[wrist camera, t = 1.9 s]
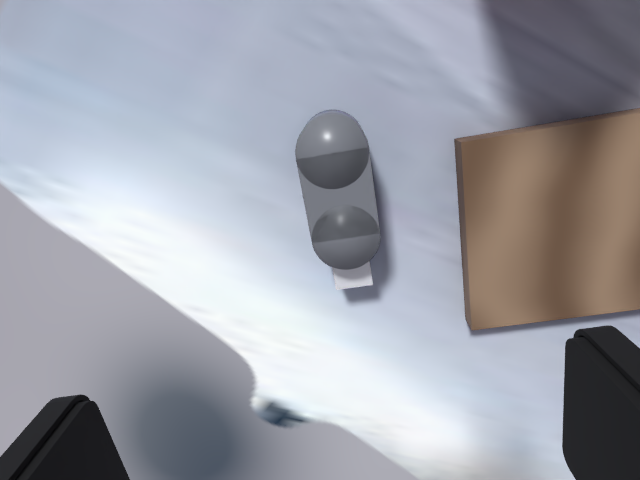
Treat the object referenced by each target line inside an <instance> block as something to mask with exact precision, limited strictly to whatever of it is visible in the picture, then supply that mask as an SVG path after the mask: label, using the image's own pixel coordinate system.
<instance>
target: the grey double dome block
mask: <svg viewBox="0 0 640 480" xmlns="http://www.w3.org/2000/svg"><path fill="white" fill-rule="evenodd" d="M295 155H296V162H297V167H298V172H299V177H300V183H301V188H302V193H303V198H304V204H305V209H306V214H307V219H308V225H309V230H310V235H311V240H312V245H313V248H314V251H315V253H316V254H317V256H318V257H319V258H320V259H321V260H322V261H323V262H324V263H325V264H327V265H329V266H331V267H332V269H333V275H334V280H335V286H336V290H340V289H347V288H354V287H362V286H369V285H373V282H372V275H371V268H370V260H371V259H372V258H373V257H374V255H375V254H376V252H377V250H378V247H379V244H380V229H379V221H378V214H377V206H376V199H375V191H374V183H373V176H372V168H371V160H370V153H369V146H368V141H367V138H366V136H365V134H364V132H363V130H362V128H361V126H360V125H359V123H358V122H357V121H356V120H355V119H354V118H353V117H352V116H351V115H349V114H348V113H345V112H343V111H339V110H327V111H323V112H320V113H318V114H316V115H315V116H314V117H312V118H311V119H310V120H309V121H308V123H307V124H306V126H305V127H304V129H303V130H302V132H301V134H300V135H299V138H298V140H297V144H296V150H295Z"/></svg>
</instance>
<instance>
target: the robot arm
mask: <svg viewBox="0 0 640 480" xmlns="http://www.w3.org/2000/svg"><path fill="white" fill-rule="evenodd" d="M562 447H563V454H564V457H565V461H566V463H567V465H568V467H569V469H570V471H571V472H572V474H573V476H574V477H575V479H576V480H640V348H638V347H637V346H636V345H635V344H634V343H633V342H632V341H630V340H629V339H628V338H627V337H626V336H625V335H623V334H622V333H621V332H620V331H619V330H618V329H616V328H615V327H613V326H601V327H593V328H586V329H579V330H577V331H576V332H575V334H574V338H571V339H568V340H567V341H566V346H565V378H564V411H563V444H562ZM0 480H130V479H129V477H128V474H127V472H126V470H125V467H124V466H123V463H122V461H121V458H120V456H119V454H118V451H117V449H116V447H115V445H114V443H113V440H112V438H111V435H110V433H109V431H108V429H107V426H106V424H105V422H104V419H103V417H102V415H101V413H100V410H99V408H98V406H97V404H96V403H95V402H94V401H90V400H89V398H88V397H87V396H85V395H75V396H67V397H59V398H55V399H52V400H51V401H50V402H48V403H47V404H46V405H45V407H44V408H43V409H42V410H41V411H40V412H39V413H38V415H37V416H36V417H35V418H34V419H33V420H32V422H31V423H30V424H29V425H28V426H27V427H26V428H25V429H24V431H23V432H22V433H21V434H20V435H19V436H18V437H17V439H16V440H15V441H14V442H13V443H12V444H11V445H10V447H9V448H8V449H7V450H6V451H5V452H4V453H3V455H2V456H1V457H0Z"/></svg>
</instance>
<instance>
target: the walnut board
mask: <svg viewBox="0 0 640 480" xmlns="http://www.w3.org/2000/svg"><path fill="white" fill-rule="evenodd" d="M455 156H456V172H457V188H458V204H459V220H460V237H461V253H462V269H463V285H464V301H465V317H466V321H467V323H468V324H469V326H470V328H471V330H479V329H487V328H495V327H503V326H511V325H519V324H527V323H535V322H543V321H551V320H559V319H567V318H574V317H582V316H590V315H598V314H606V313H614V312H622V311H630V310H638V309H640V108H637V109H631V110H625V111H619V112H613V113H607V114H601V115H595V116H589V117H583V118H577V119H571V120H565V121H559V122H553V123H547V124H541V125H535V126H529V127H523V128H517V129H511V130H505V131H499V132H493V133H487V134H481V135H475V136H469V137H463V138H457V139H455Z"/></svg>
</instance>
